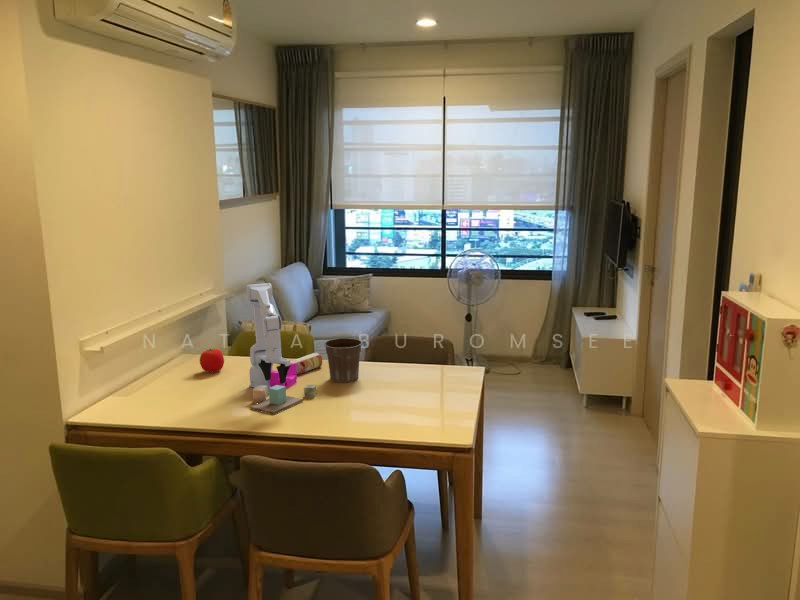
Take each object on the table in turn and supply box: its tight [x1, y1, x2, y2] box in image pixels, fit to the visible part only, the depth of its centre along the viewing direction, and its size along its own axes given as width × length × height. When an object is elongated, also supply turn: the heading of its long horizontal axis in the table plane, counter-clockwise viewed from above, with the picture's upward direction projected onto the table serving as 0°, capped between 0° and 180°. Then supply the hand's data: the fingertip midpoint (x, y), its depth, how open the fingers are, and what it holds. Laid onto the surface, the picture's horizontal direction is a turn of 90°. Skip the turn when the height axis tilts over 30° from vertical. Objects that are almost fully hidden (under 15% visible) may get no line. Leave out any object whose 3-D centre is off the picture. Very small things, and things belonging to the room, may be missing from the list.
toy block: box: [270, 363, 298, 390], centre depth 269 cm, size 15×6×8 cm, turn 159°
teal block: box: [268, 385, 287, 405], centre depth 244 cm, size 4×4×6 cm
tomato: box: [199, 348, 225, 373], centre depth 289 cm, size 10×11×11 cm
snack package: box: [290, 352, 323, 375], centre depth 286 cm, size 21×7×7 cm, turn 141°
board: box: [250, 395, 304, 415], centre depth 244 cm, size 12×16×1 cm
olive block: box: [303, 384, 317, 398], centre depth 254 cm, size 4×4×4 cm
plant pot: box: [324, 337, 363, 383], centre depth 274 cm, size 16×16×16 cm
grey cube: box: [254, 385, 269, 397], centre depth 255 cm, size 4×4×4 cm
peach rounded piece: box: [252, 387, 267, 404], centre depth 249 cm, size 5×5×5 cm
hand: (275, 381), depth 243 cm, fingers open, 7 cm apart
